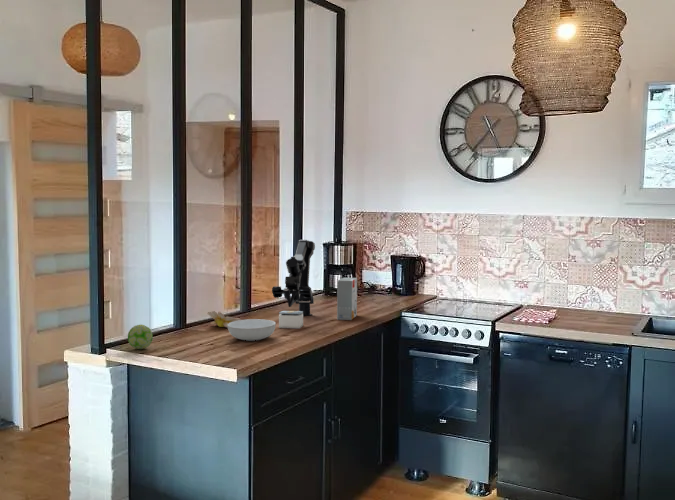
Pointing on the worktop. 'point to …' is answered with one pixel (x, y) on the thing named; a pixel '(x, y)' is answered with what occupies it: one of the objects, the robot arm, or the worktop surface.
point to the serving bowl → (251, 329)
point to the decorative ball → (140, 336)
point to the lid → (290, 312)
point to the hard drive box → (346, 298)
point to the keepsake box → (291, 320)
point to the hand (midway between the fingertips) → (289, 306)
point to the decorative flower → (221, 319)
